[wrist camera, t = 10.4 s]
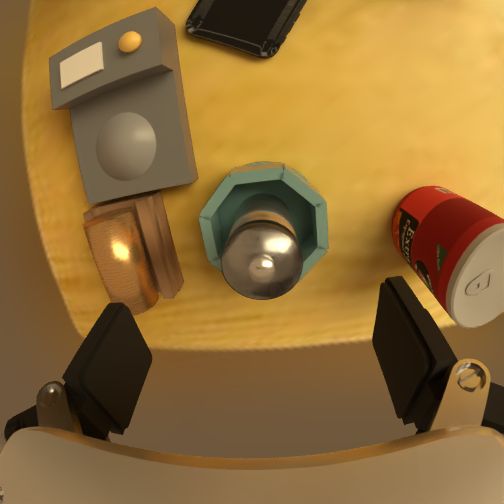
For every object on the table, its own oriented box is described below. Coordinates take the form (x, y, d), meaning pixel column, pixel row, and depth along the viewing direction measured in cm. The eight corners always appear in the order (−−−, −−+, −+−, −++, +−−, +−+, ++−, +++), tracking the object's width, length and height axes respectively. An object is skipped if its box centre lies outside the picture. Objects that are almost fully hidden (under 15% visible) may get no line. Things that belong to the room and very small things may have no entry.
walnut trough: (97, 204, 24) (81, 214, 21) (160, 190, 23) (148, 199, 20) (123, 286, 27) (112, 300, 25) (184, 281, 27) (176, 298, 24)
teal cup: (201, 170, 22) (189, 178, 19) (315, 156, 21) (324, 161, 18) (221, 270, 26) (214, 292, 22) (322, 259, 25) (330, 281, 21)
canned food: (377, 208, 23) (441, 268, 13) (443, 168, 20) (527, 204, 10) (402, 273, 25) (454, 347, 15) (462, 235, 23) (528, 291, 13)
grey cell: (231, 196, 22) (211, 236, 14) (287, 189, 22) (300, 225, 14) (240, 248, 24) (228, 309, 16) (293, 241, 23) (306, 300, 16)
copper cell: (100, 212, 22) (72, 230, 18) (141, 203, 22) (116, 221, 18) (128, 294, 26) (109, 321, 22) (167, 292, 25) (151, 321, 21)
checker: (77, 63, 18) (44, 57, 13) (174, 24, 17) (152, 4, 12) (100, 198, 23) (69, 215, 19) (198, 178, 22) (180, 191, 18)
